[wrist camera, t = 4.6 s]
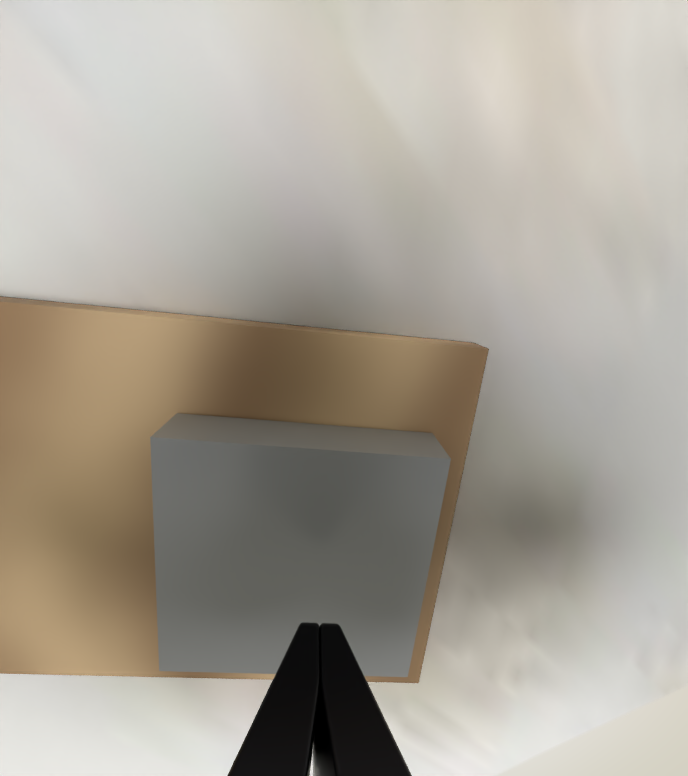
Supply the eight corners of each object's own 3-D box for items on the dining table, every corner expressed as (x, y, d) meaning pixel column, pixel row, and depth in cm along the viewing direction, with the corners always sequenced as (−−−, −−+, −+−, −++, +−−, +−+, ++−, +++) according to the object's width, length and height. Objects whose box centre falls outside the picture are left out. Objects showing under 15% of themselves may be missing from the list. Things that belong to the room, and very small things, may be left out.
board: (473, 342, 11) (488, 348, 10) (412, 655, 14) (418, 682, 13) (-38, 292, 10) (-78, 293, 9) (20, 644, 13) (-4, 673, 12)
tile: (177, 412, 10) (431, 431, 11) (181, 618, 12) (397, 626, 12) (150, 437, 8) (450, 458, 9) (159, 671, 10) (407, 677, 11)
